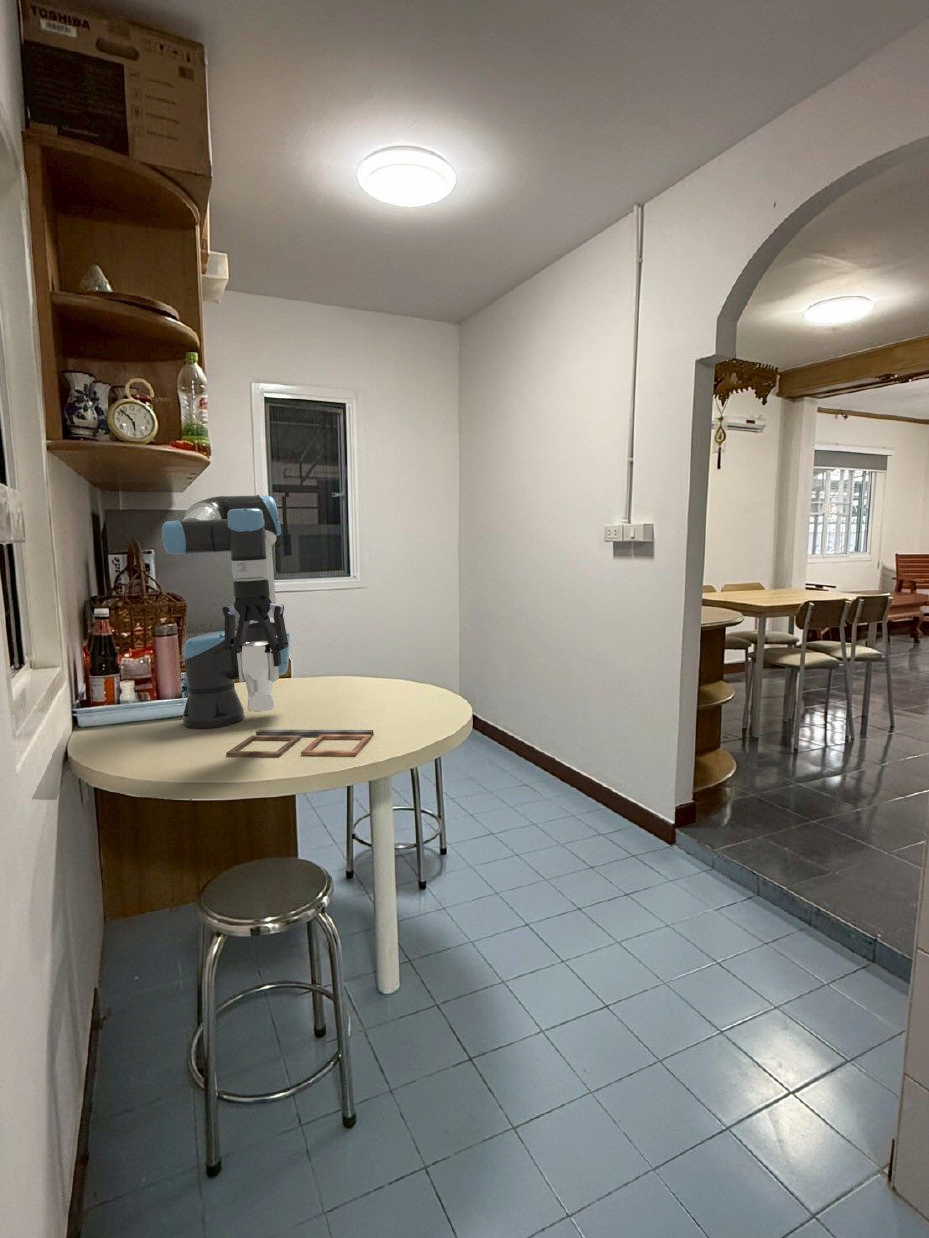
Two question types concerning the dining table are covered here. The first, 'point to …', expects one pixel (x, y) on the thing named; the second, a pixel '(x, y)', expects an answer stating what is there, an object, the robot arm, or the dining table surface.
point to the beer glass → (257, 675)
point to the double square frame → (296, 736)
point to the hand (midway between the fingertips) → (259, 680)
